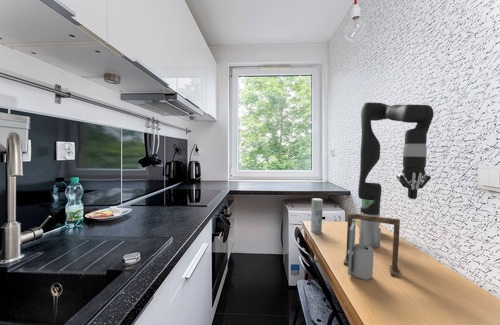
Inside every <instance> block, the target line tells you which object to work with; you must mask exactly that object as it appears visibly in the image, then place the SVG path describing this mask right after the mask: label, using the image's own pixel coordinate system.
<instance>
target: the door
mask: <svg viewBox="0 0 500 325" xmlns="http://www.w3.org/2000/svg"><path fill="white" fill-rule="evenodd" d="M356 227H357V224H356V221H355V220H353V221H352V225H351V228H350V238H349V250H348V254H349V262H348V268H347V275H349V276H352V257H353V253H354V251H353V248H354V247H355V243H356V241H355V240H356Z"/></svg>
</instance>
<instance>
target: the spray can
mask: <svg viewBox="0 0 500 325" xmlns="http://www.w3.org/2000/svg"><path fill="white" fill-rule="evenodd" d="M323 201H324V200H323V199H322V198H319V197H318V198H316V197H315V198H311V212H310V213H311V215H310V216H311V218H310V220H311V221H310V231H311V232H312V233H315V234H320V233H322V231H323V230H322V228H323V227H322V225H323V208H324V207H323V204H324V203H323Z"/></svg>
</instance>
